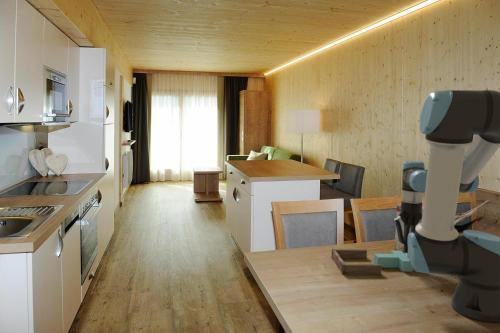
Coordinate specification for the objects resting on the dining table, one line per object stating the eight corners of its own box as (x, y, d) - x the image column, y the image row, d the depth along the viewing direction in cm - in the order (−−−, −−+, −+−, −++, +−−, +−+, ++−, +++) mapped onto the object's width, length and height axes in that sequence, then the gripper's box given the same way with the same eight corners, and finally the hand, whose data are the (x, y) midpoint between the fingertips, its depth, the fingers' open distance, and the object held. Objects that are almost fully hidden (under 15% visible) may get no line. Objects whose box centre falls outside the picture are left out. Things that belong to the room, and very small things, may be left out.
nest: (381, 274, 142) (381, 265, 142) (342, 274, 142) (343, 265, 141) (365, 257, 160) (366, 249, 160) (331, 257, 160) (331, 249, 159)
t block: (412, 271, 145) (413, 261, 145) (381, 271, 145) (381, 261, 145) (400, 260, 157) (400, 250, 157) (370, 259, 157) (371, 250, 157)
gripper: (424, 199, 152) (420, 257, 155) (391, 199, 152) (388, 257, 155) (433, 203, 145) (429, 264, 148) (398, 203, 145) (395, 264, 147)
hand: (408, 260), depth 151 cm, fingers closed
